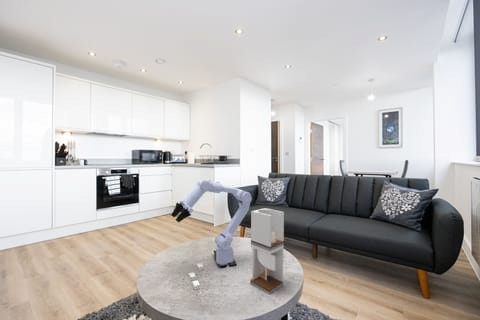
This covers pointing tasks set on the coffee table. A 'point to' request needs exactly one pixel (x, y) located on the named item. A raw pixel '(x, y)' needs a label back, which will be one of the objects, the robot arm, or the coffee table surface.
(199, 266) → the switch
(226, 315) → the coffee table surface
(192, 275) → the switch
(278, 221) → the white wooden shelf tower
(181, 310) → the coffee table surface
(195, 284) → the switch
